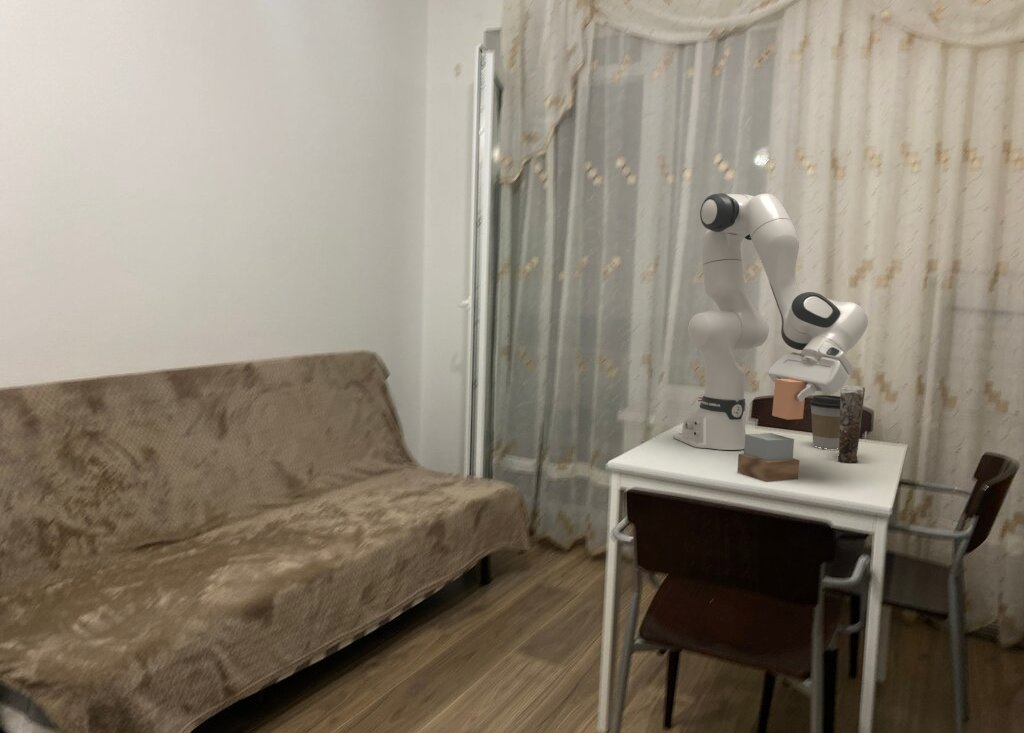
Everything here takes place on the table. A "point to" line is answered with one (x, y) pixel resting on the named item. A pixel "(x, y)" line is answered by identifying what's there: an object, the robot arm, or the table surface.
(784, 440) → the tower top
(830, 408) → the coffee cup
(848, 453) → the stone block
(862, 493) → the table surface
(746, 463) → the tower base
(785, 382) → the terracotta block
